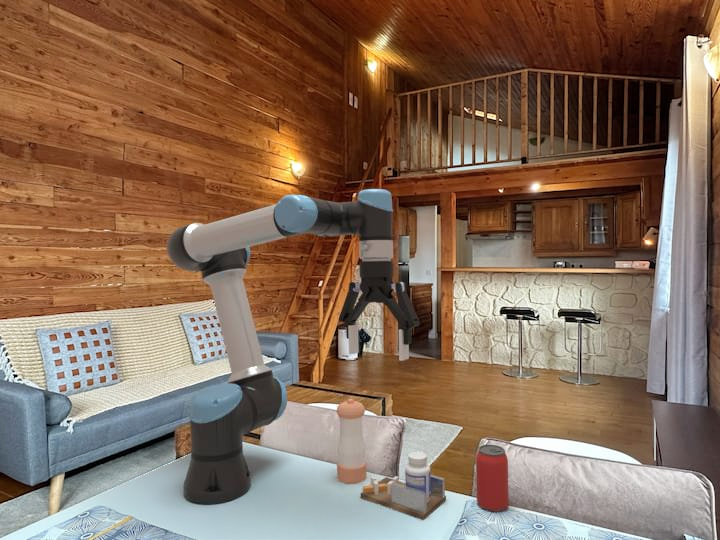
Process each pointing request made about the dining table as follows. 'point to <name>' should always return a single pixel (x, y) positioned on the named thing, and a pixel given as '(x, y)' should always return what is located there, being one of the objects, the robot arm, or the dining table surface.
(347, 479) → the pepper shaker
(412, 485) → the pill bottle
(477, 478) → the beer can
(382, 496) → the board
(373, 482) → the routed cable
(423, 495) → the end holder
